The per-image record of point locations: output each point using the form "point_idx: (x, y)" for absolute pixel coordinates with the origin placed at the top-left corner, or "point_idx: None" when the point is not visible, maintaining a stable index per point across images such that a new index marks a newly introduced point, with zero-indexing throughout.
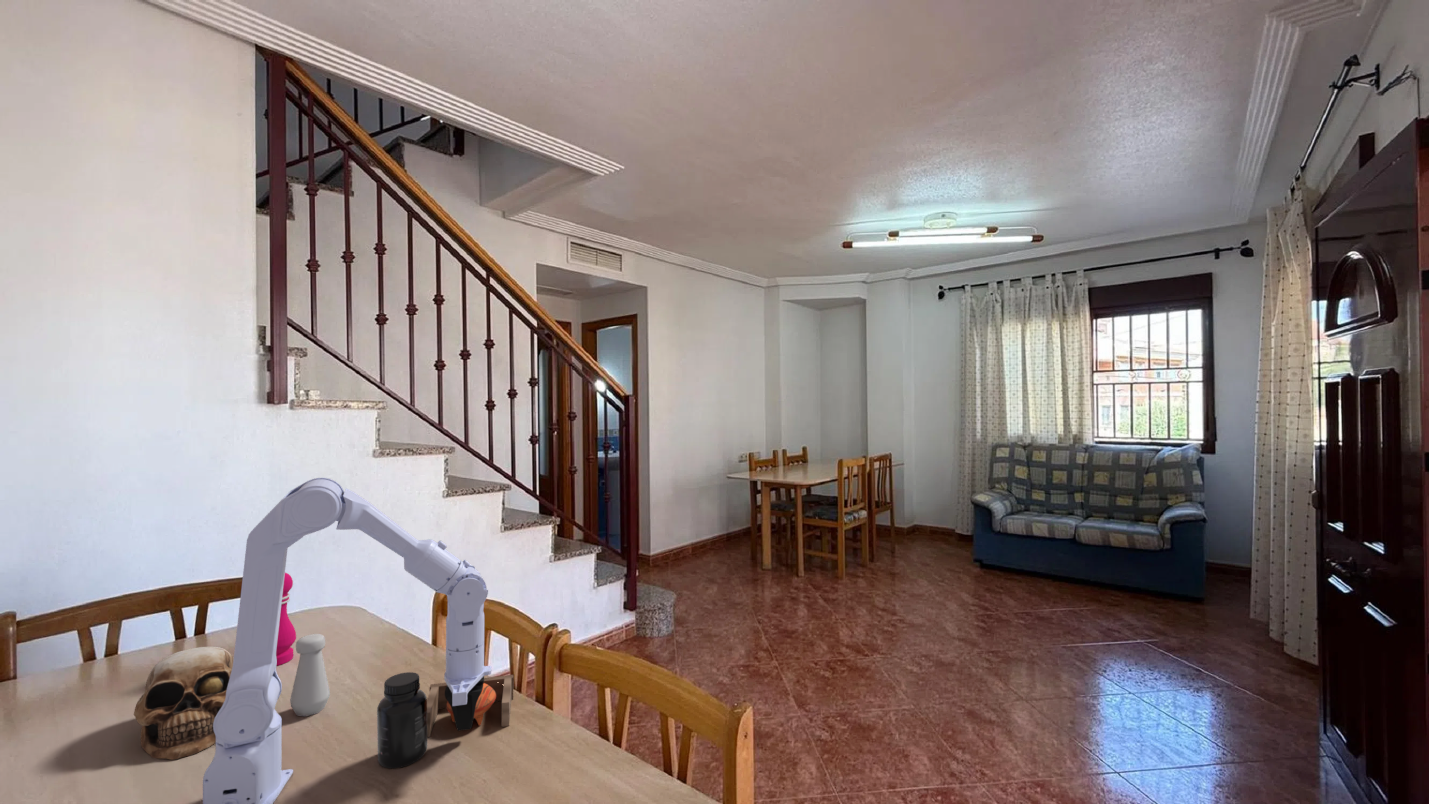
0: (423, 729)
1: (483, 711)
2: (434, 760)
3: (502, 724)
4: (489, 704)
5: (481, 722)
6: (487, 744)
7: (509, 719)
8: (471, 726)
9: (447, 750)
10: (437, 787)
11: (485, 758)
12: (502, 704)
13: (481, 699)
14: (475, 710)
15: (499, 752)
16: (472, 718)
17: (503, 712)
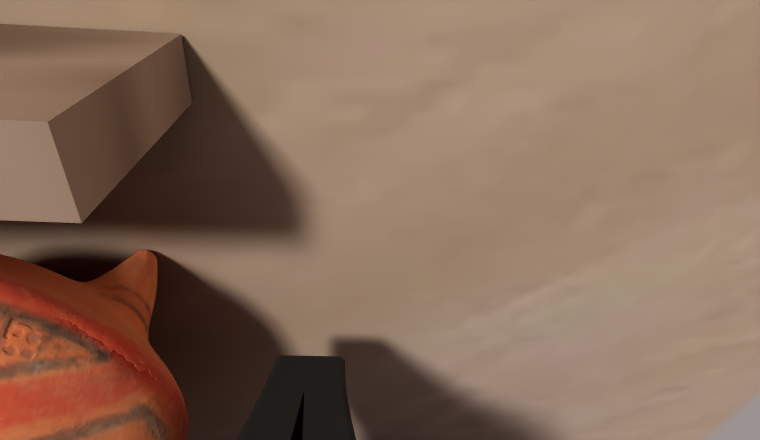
0: None
1: (113, 314)
2: (478, 417)
3: (185, 102)
4: (40, 308)
5: (145, 259)
6: (432, 199)
7: (90, 34)
8: (342, 368)
9: (408, 382)
10: (723, 391)
11: (609, 206)
12: (88, 201)
13: (40, 431)
14: (162, 398)
15: (588, 116)
16: (352, 429)
17: (137, 141)
